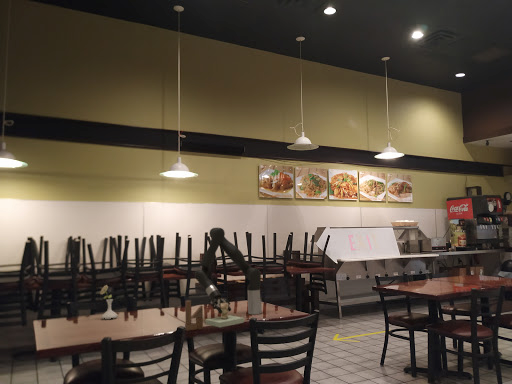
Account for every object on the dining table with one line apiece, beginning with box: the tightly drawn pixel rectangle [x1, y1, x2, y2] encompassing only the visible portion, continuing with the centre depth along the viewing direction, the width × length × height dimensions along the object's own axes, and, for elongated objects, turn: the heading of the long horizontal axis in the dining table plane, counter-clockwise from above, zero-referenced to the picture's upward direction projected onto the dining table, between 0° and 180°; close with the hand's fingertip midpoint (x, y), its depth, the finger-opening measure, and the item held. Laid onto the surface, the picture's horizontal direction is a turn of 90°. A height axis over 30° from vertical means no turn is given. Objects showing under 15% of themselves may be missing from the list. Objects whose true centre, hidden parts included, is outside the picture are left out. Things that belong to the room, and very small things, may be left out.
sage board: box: [205, 314, 245, 328], centre depth 281 cm, size 20×16×3 cm
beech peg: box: [219, 302, 229, 320], centre depth 282 cm, size 5×5×13 cm
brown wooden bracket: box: [184, 299, 204, 332], centre depth 267 cm, size 4×11×18 cm, turn 113°
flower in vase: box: [99, 284, 119, 320], centre depth 313 cm, size 13×11×25 cm
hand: (225, 311), depth 281 cm, fingers open, 8 cm apart
